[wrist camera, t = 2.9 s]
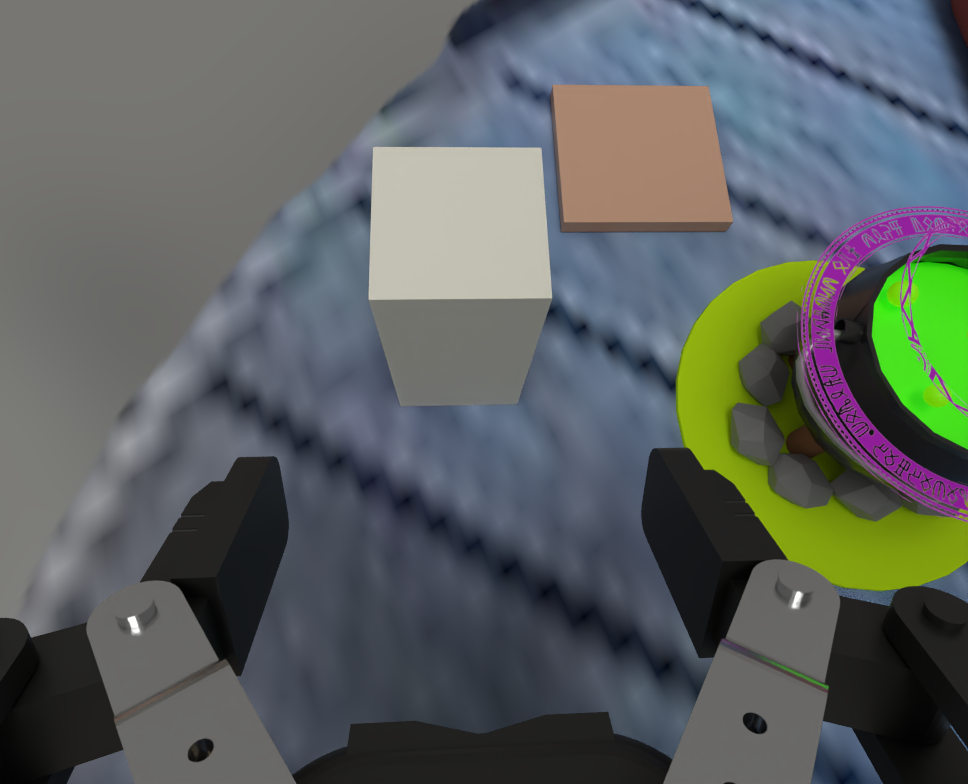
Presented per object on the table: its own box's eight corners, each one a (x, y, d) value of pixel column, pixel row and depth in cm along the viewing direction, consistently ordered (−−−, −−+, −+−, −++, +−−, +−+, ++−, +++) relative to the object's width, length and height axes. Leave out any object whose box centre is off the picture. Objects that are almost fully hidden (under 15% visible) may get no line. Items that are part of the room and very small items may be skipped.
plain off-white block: (512, 296, 28) (540, 143, 18) (517, 404, 26) (552, 298, 17) (401, 297, 28) (373, 143, 18) (400, 406, 26) (368, 299, 16)
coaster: (702, 98, 32) (708, 86, 31) (726, 231, 29) (733, 221, 29) (550, 97, 31) (552, 84, 31) (561, 232, 29) (564, 222, 28)
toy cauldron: (658, 552, 25) (807, 525, 14) (687, 237, 29) (815, 41, 19) (1027, 624, 24) (1455, 650, 14) (997, 294, 29) (1301, 128, 19)
